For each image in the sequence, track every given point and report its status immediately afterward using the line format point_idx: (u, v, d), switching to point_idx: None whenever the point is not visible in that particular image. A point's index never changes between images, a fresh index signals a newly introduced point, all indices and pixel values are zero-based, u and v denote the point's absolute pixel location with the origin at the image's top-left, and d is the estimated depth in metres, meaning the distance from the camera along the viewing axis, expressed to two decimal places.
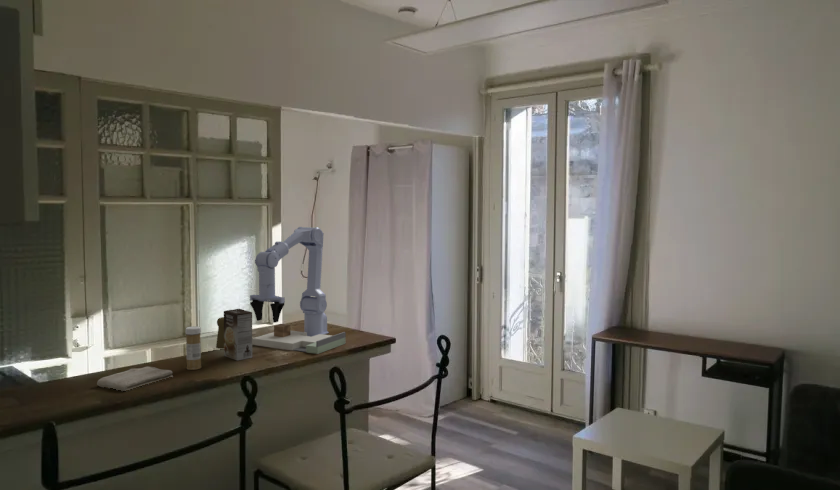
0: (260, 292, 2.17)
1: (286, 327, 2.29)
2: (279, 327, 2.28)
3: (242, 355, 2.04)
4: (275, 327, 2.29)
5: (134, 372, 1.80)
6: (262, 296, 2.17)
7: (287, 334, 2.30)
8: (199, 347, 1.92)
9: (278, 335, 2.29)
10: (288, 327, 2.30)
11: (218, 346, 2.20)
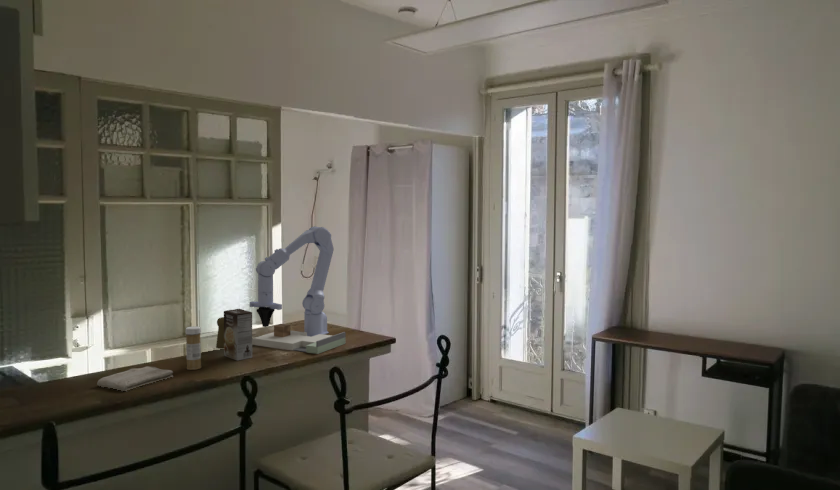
0: (259, 299, 2.31)
1: (286, 327, 2.29)
2: (279, 327, 2.28)
3: (242, 355, 2.04)
4: (275, 327, 2.29)
5: (134, 372, 1.80)
6: (261, 303, 2.31)
7: (287, 334, 2.30)
8: (199, 347, 1.92)
9: (278, 335, 2.29)
10: (288, 327, 2.30)
11: (218, 346, 2.20)
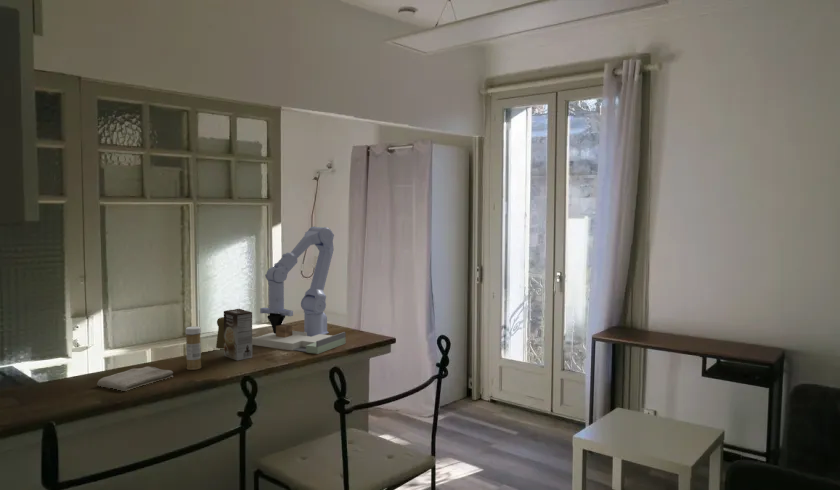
0: (270, 305, 2.29)
1: (288, 327, 2.29)
2: (281, 327, 2.28)
3: (242, 355, 2.04)
4: (277, 327, 2.29)
5: (134, 372, 1.80)
6: (271, 309, 2.28)
7: (289, 334, 2.29)
8: (199, 347, 1.92)
9: (280, 335, 2.28)
10: (290, 327, 2.30)
11: (218, 346, 2.20)
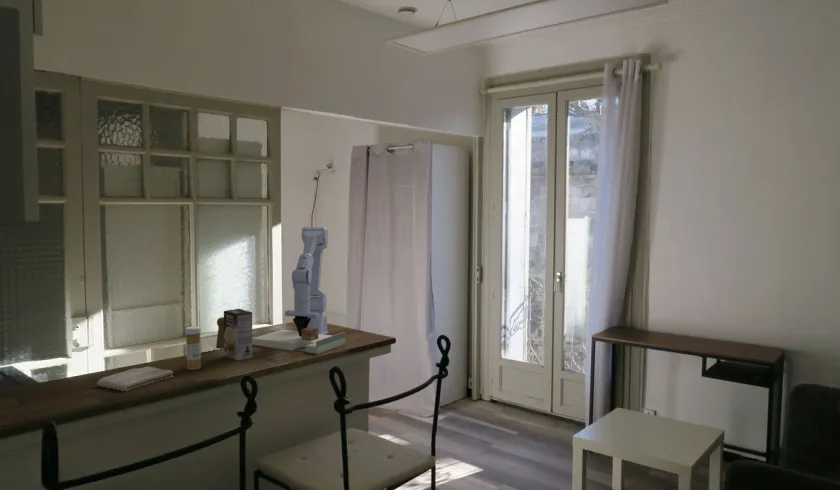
0: (295, 308, 2.24)
1: (314, 330, 2.23)
2: (307, 330, 2.22)
3: (242, 355, 2.04)
4: (303, 330, 2.23)
5: (134, 372, 1.80)
6: (297, 312, 2.23)
7: (315, 338, 2.24)
8: (199, 347, 1.92)
9: (306, 339, 2.23)
10: (316, 330, 2.24)
11: (218, 346, 2.20)
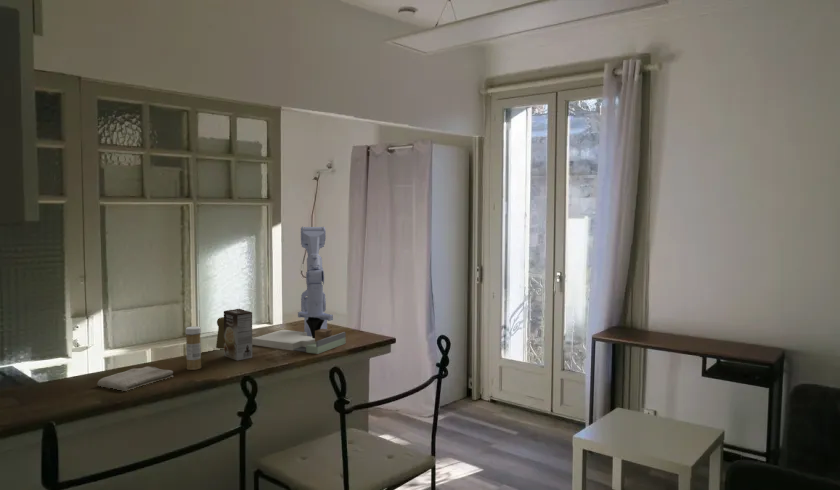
0: (309, 309, 2.21)
1: (328, 332, 2.21)
2: (320, 332, 2.20)
3: (242, 355, 2.04)
4: (316, 332, 2.21)
5: (134, 372, 1.80)
6: (311, 313, 2.21)
7: None
8: (199, 347, 1.92)
9: None
10: (329, 332, 2.22)
11: (218, 346, 2.20)
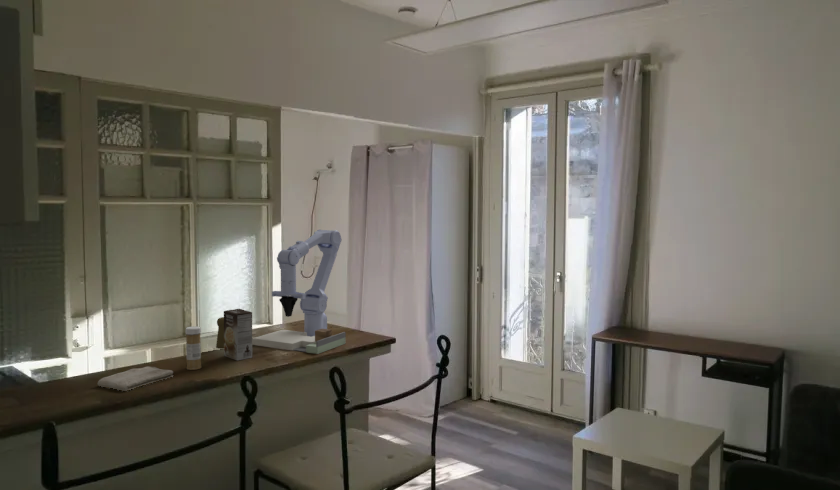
0: (282, 288, 2.27)
1: (328, 332, 2.21)
2: (320, 332, 2.20)
3: (242, 355, 2.04)
4: (316, 332, 2.21)
5: (135, 372, 1.80)
6: (284, 292, 2.27)
7: None
8: (199, 347, 1.92)
9: None
10: (329, 332, 2.22)
11: (218, 346, 2.20)
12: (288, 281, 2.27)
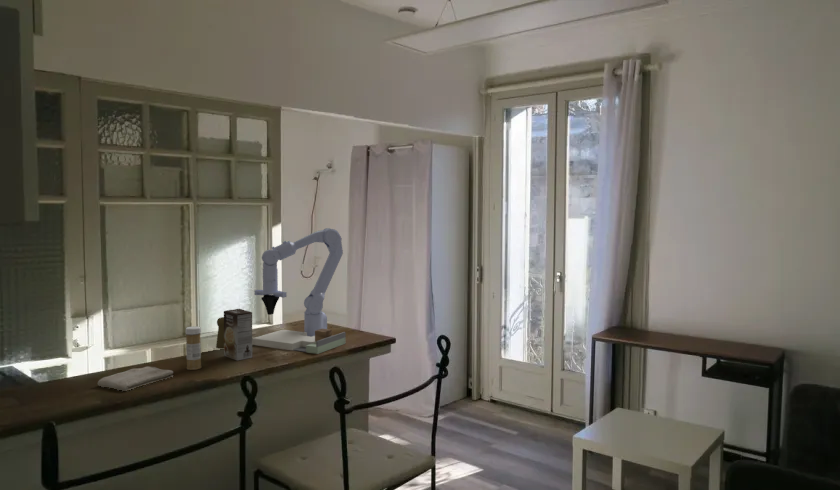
0: (264, 287, 2.35)
1: (328, 332, 2.21)
2: (320, 332, 2.20)
3: (242, 355, 2.04)
4: (316, 332, 2.21)
5: (135, 372, 1.80)
6: (265, 291, 2.34)
7: None
8: (199, 347, 1.92)
9: None
10: (329, 332, 2.22)
11: (218, 346, 2.20)
12: (269, 280, 2.34)
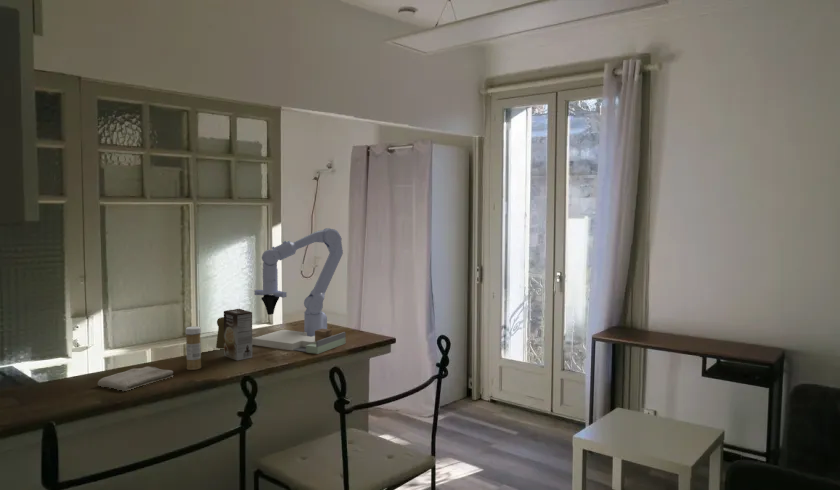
0: (264, 287, 2.35)
1: (328, 332, 2.21)
2: (320, 332, 2.20)
3: (242, 355, 2.04)
4: (316, 332, 2.21)
5: (135, 372, 1.80)
6: (265, 291, 2.34)
7: None
8: (199, 347, 1.92)
9: None
10: (329, 332, 2.22)
11: (218, 346, 2.20)
12: (269, 280, 2.34)
